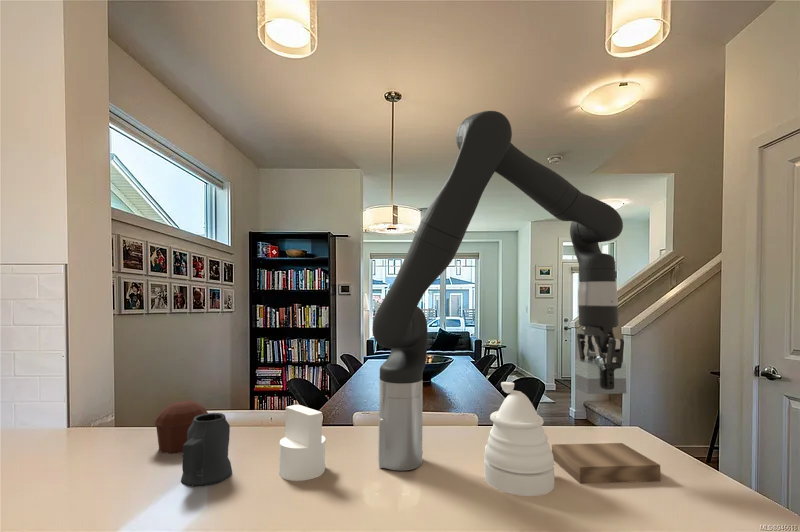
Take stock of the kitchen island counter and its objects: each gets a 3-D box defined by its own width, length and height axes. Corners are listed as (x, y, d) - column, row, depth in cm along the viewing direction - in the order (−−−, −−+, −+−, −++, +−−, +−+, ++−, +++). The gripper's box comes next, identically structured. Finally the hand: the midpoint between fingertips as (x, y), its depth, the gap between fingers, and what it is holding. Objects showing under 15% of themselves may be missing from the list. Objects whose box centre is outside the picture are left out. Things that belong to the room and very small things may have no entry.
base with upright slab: (270, 471, 82) (271, 409, 83) (308, 458, 89) (309, 401, 90) (295, 485, 76) (296, 418, 77) (334, 470, 83) (335, 409, 84)
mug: (197, 465, 85) (199, 410, 85) (240, 467, 84) (242, 410, 85) (160, 493, 73) (163, 428, 74) (210, 495, 72) (213, 429, 73)
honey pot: (472, 482, 78) (472, 385, 79) (500, 461, 88) (499, 375, 89) (540, 503, 70) (538, 395, 71) (563, 477, 80) (561, 383, 82)
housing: (626, 393, 83) (625, 363, 83) (588, 393, 82) (587, 363, 83) (611, 388, 88) (611, 359, 88) (575, 388, 87) (575, 359, 88)
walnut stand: (580, 483, 78) (579, 467, 78) (551, 458, 89) (551, 444, 90) (660, 481, 79) (660, 465, 79) (622, 457, 91) (621, 442, 91)
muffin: (181, 436, 102) (183, 395, 103) (218, 440, 99) (220, 398, 100) (139, 453, 91) (141, 407, 92) (180, 459, 88) (182, 411, 89)
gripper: (636, 304, 80) (640, 394, 78) (596, 303, 94) (598, 379, 93) (599, 304, 79) (602, 394, 78) (564, 303, 93) (566, 379, 92)
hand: (600, 385), depth 85 cm, fingers closed on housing, 5 cm apart
